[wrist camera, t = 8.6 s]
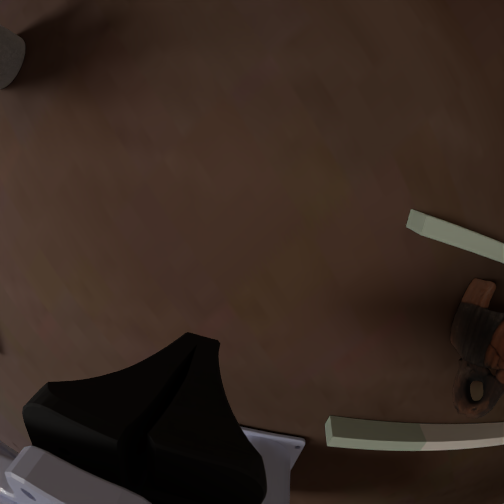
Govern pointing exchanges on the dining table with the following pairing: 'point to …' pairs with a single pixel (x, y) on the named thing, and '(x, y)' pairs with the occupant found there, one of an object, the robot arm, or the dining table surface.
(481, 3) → the dining table surface
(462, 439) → the open rectangular rail frame
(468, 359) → the brown piece
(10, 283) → the dining table surface
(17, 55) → the house plant
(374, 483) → the dining table surface
